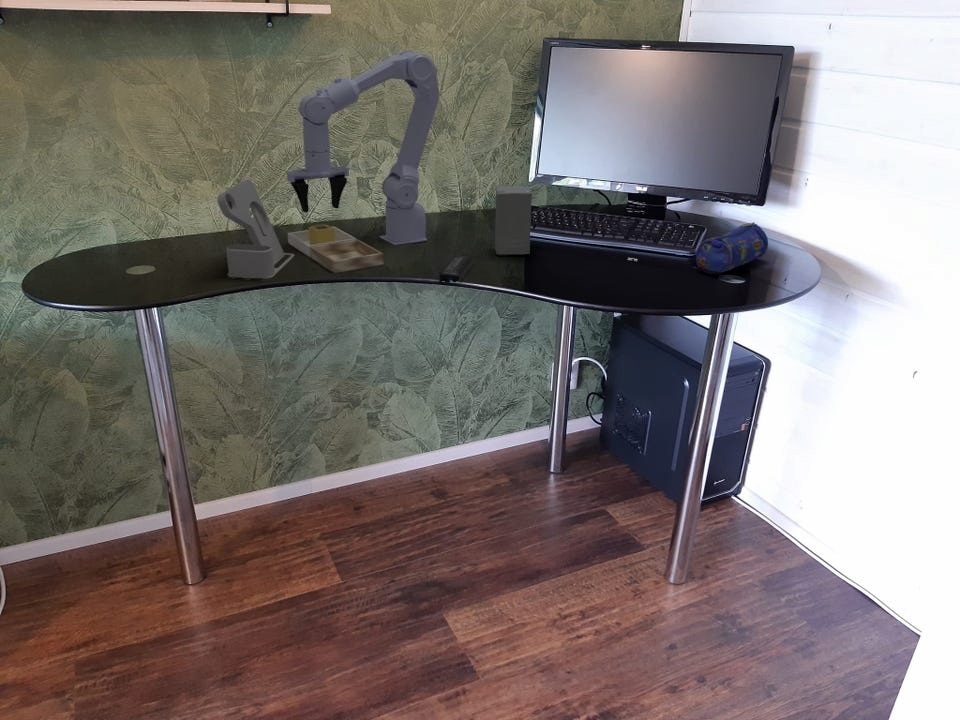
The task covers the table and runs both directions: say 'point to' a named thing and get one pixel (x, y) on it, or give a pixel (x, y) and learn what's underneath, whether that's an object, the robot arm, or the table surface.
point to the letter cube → (321, 234)
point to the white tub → (303, 244)
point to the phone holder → (251, 234)
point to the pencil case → (732, 248)
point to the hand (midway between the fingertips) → (320, 209)
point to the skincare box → (513, 219)
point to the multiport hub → (456, 268)
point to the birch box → (347, 256)
